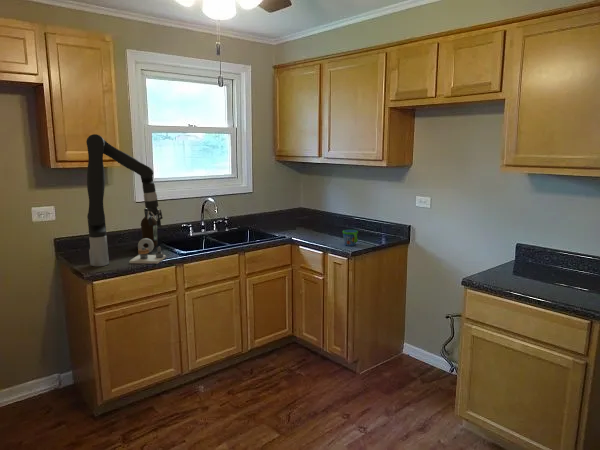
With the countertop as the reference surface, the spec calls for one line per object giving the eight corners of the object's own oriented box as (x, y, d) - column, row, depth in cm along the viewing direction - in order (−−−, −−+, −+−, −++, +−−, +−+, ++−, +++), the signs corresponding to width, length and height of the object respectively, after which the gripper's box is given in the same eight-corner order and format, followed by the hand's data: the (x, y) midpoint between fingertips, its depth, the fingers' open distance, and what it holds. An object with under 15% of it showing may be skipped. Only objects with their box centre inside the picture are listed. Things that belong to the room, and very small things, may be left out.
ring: (138, 254, 267) (137, 250, 266) (138, 251, 272) (138, 248, 272) (148, 253, 268) (148, 250, 268) (149, 251, 274) (148, 247, 274)
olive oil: (140, 247, 304) (137, 211, 299) (145, 243, 314) (142, 208, 310) (155, 247, 304) (153, 211, 299) (160, 243, 315) (158, 208, 310)
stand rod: (139, 259, 269) (138, 248, 268) (141, 257, 273) (141, 246, 272) (146, 259, 269) (145, 248, 268) (149, 257, 273) (148, 247, 272)
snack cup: (338, 243, 316) (338, 229, 314) (352, 242, 319) (352, 228, 317) (347, 248, 301) (348, 233, 299) (361, 247, 305) (362, 232, 303)
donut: (154, 251, 292) (153, 237, 290) (154, 253, 289) (153, 238, 287) (138, 253, 288) (136, 238, 286) (138, 254, 285) (137, 239, 283)
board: (129, 263, 266) (129, 260, 265) (139, 257, 279) (138, 254, 279) (157, 263, 265) (157, 261, 265) (165, 257, 279) (165, 255, 278)
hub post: (154, 258, 272) (154, 247, 270) (157, 256, 276) (156, 245, 275) (161, 258, 271) (161, 247, 270) (164, 256, 276) (163, 245, 274)
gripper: (138, 200, 270) (142, 226, 273) (152, 201, 261) (156, 228, 265) (149, 198, 276) (153, 223, 279) (163, 198, 267) (167, 225, 271)
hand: (155, 225), depth 272 cm, fingers open, 8 cm apart
